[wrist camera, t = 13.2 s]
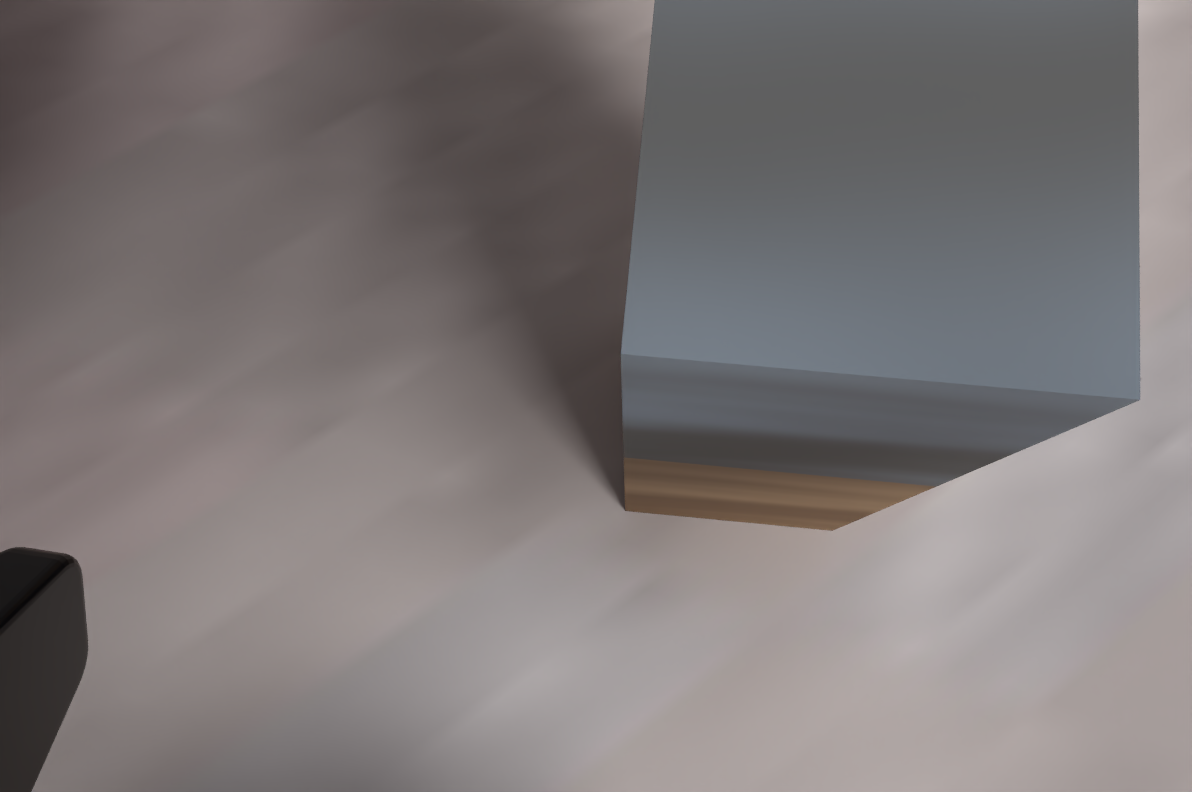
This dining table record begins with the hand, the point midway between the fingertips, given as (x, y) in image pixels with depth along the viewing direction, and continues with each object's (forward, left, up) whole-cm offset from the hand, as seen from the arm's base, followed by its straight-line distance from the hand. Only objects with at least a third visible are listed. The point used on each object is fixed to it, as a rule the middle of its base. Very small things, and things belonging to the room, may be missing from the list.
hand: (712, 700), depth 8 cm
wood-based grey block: (+2, -4, -13) cm, 14 cm away
